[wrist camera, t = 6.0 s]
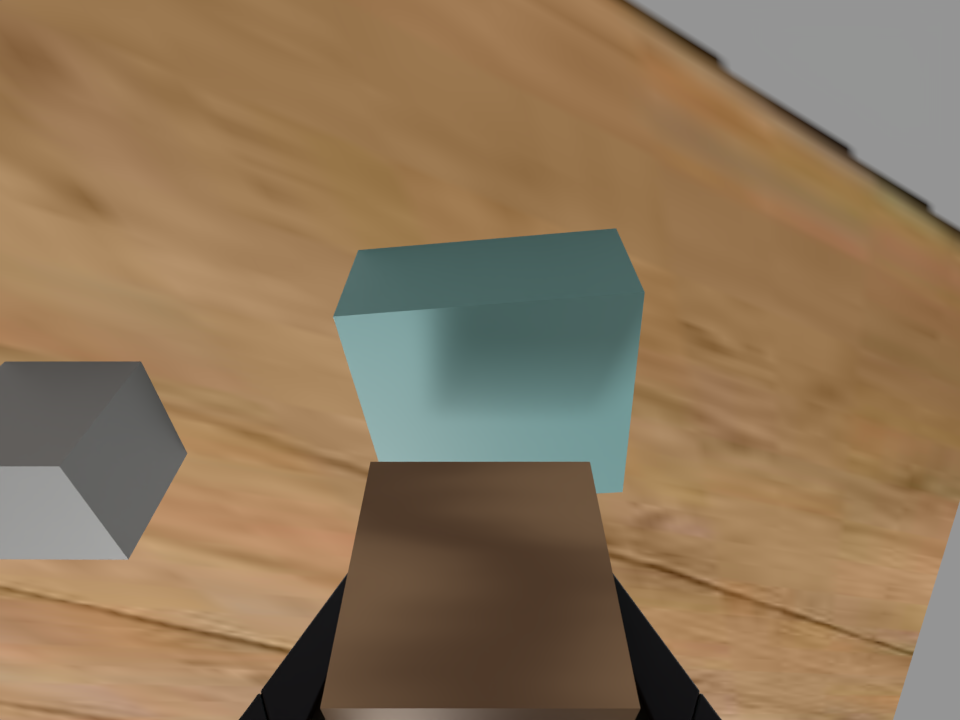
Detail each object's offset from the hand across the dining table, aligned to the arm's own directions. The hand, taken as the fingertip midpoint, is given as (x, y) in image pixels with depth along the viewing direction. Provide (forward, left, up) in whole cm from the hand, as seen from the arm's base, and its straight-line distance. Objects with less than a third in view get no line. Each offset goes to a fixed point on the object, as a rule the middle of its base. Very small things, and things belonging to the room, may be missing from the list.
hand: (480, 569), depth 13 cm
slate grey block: (-15, -3, -9) cm, 17 cm away
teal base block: (+1, 0, -9) cm, 9 cm away
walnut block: (0, 0, -1) cm, 1 cm away
